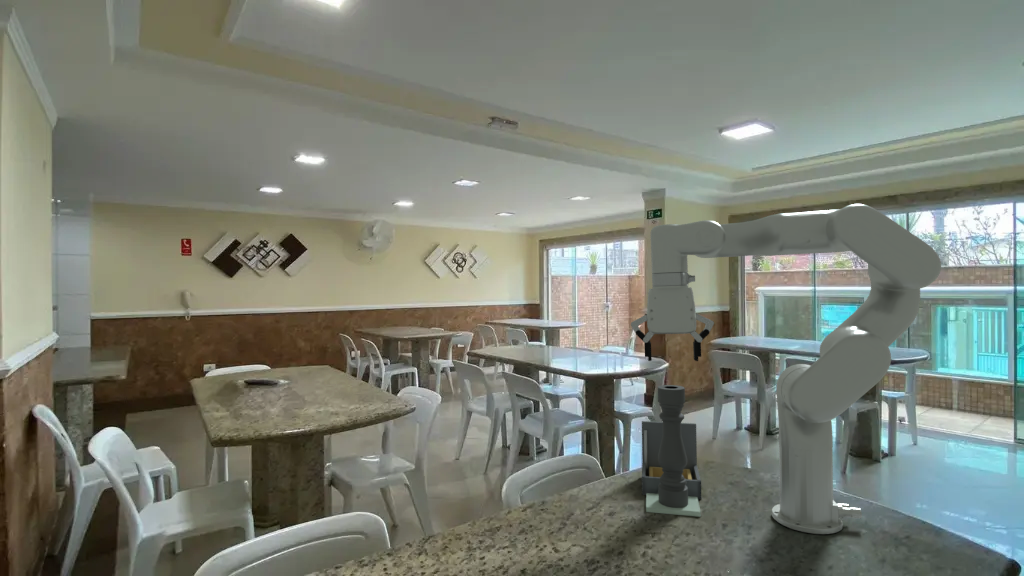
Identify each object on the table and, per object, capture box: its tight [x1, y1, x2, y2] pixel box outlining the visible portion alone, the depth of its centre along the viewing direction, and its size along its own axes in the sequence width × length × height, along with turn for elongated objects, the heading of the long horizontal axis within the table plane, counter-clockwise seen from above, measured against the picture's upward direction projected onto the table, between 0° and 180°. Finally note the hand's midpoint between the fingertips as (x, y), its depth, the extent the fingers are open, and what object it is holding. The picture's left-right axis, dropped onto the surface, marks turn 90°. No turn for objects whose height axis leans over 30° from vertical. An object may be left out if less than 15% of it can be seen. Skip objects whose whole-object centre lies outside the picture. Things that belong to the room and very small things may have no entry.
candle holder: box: [657, 384, 688, 508], centre depth 116 cm, size 6×6×25 cm
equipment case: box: [641, 420, 702, 500], centre depth 127 cm, size 13×12×14 cm
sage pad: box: [645, 493, 702, 518], centre depth 116 cm, size 11×8×1 cm
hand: (672, 360), depth 115 cm, fingers open, 9 cm apart
